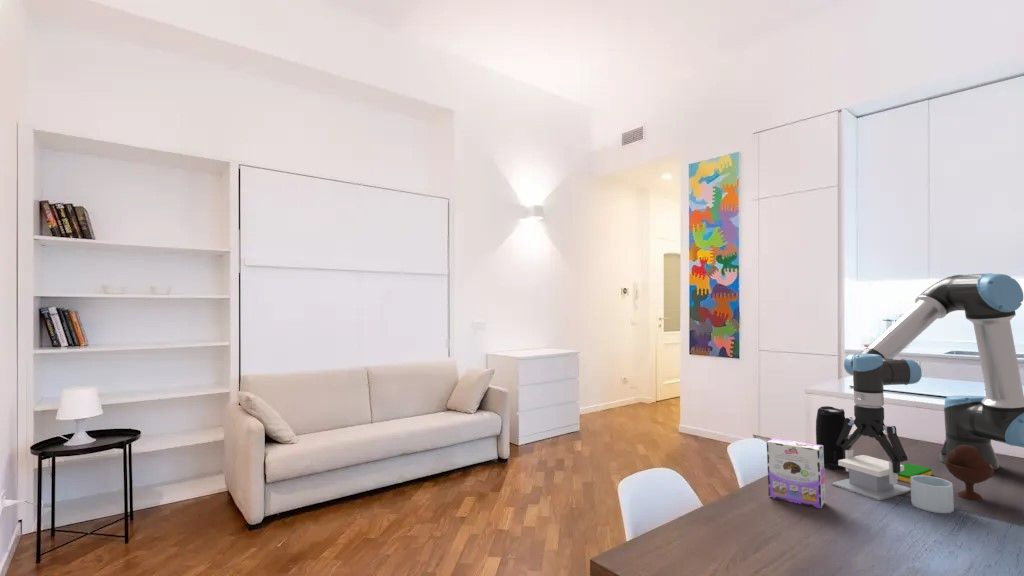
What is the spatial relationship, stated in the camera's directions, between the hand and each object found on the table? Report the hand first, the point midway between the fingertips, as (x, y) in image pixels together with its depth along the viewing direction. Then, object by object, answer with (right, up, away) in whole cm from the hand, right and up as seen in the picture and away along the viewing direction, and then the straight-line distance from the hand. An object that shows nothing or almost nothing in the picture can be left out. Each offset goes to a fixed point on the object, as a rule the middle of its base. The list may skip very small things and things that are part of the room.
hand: (870, 476), depth 158 cm
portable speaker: (+1, -4, +20) cm, 20 cm away
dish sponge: (+19, -4, +10) cm, 21 cm away
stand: (0, -3, 0) cm, 3 cm away
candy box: (-27, -4, -8) cm, 29 cm away
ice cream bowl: (+23, -3, -8) cm, 24 cm away
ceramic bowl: (+7, -3, -15) cm, 16 cm away
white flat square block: (0, +3, 0) cm, 3 cm away
